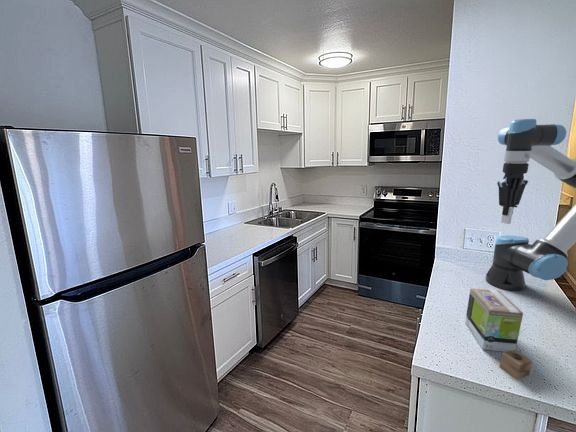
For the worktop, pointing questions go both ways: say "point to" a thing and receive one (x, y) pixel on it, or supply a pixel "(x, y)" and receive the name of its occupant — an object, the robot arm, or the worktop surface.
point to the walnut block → (515, 364)
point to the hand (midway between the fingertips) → (505, 222)
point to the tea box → (493, 320)
